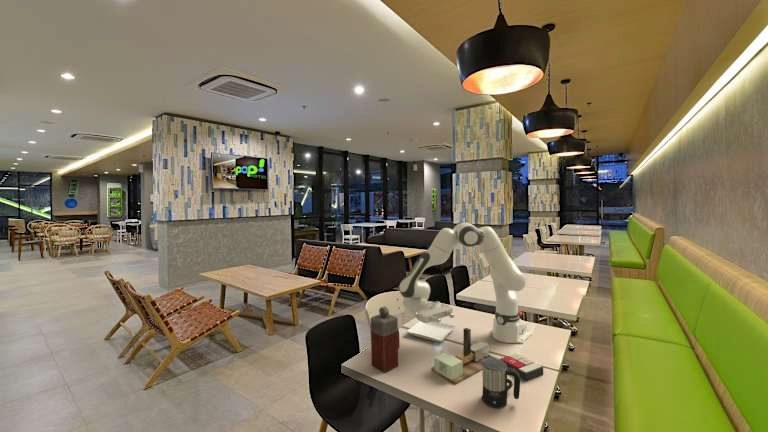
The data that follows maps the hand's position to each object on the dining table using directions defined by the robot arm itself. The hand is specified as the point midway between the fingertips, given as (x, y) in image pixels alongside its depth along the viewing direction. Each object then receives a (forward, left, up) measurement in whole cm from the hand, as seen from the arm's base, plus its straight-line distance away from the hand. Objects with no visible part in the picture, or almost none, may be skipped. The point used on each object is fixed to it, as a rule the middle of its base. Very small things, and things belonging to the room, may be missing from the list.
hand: (446, 318), depth 159 cm
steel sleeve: (-8, +12, -18) cm, 24 cm away
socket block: (+12, +12, -18) cm, 25 cm away
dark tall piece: (-3, +12, -16) cm, 20 cm away
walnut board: (+1, +12, -18) cm, 22 cm away
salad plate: (-11, -22, -19) cm, 31 cm away
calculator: (-16, +30, -19) cm, 38 cm away
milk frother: (+8, +34, -19) cm, 40 cm away
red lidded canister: (+29, -11, -18) cm, 36 cm away
